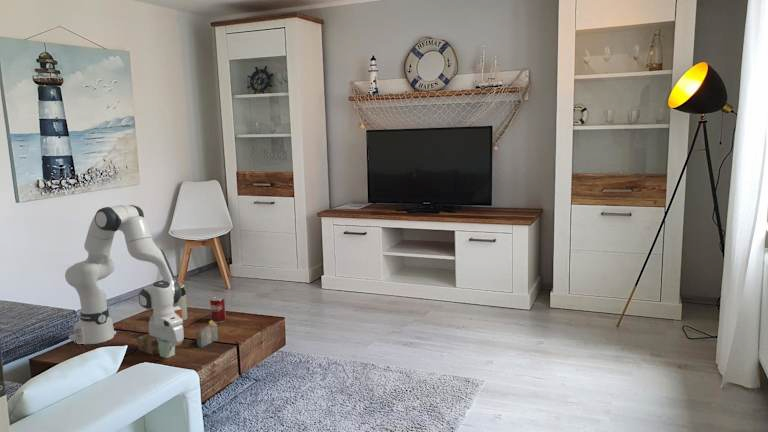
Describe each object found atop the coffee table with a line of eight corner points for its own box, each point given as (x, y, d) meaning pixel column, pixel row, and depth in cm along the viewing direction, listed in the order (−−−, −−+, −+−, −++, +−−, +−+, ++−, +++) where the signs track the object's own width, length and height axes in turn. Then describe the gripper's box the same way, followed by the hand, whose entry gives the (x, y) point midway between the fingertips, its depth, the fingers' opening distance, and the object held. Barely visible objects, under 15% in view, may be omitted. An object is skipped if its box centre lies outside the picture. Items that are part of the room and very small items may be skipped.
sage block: (159, 356, 258) (158, 341, 257) (168, 352, 261) (167, 337, 260) (166, 358, 255) (164, 342, 254) (175, 354, 259) (173, 339, 258)
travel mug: (190, 317, 310) (188, 284, 307) (182, 322, 302) (179, 288, 299) (177, 316, 311) (174, 283, 309) (168, 321, 304) (165, 287, 301)
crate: (138, 350, 265) (137, 337, 264) (167, 339, 278) (166, 327, 277) (153, 354, 259) (152, 341, 258) (181, 344, 272) (180, 331, 271)
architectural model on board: (212, 339, 278) (211, 319, 277) (218, 339, 277) (216, 320, 276) (196, 347, 268) (194, 327, 267) (201, 348, 267) (200, 327, 265)
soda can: (221, 323, 298) (219, 301, 297) (208, 322, 300) (207, 300, 299) (228, 319, 305) (227, 296, 303) (216, 318, 307) (214, 296, 306)
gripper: (143, 316, 259) (146, 346, 261) (172, 324, 248) (175, 355, 250) (156, 312, 264) (158, 341, 266) (185, 320, 253) (187, 350, 255)
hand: (167, 348), depth 258 cm, fingers open, 6 cm apart
